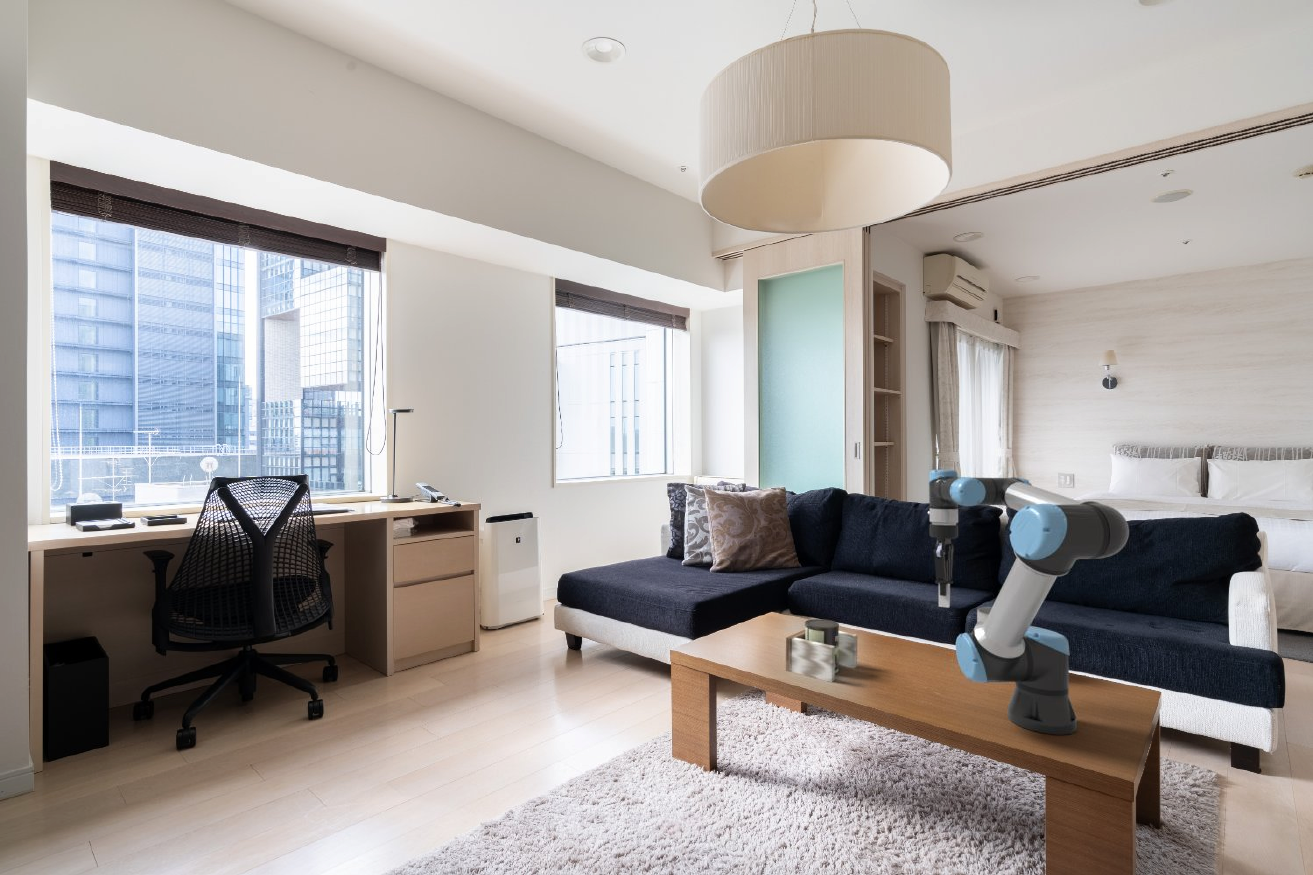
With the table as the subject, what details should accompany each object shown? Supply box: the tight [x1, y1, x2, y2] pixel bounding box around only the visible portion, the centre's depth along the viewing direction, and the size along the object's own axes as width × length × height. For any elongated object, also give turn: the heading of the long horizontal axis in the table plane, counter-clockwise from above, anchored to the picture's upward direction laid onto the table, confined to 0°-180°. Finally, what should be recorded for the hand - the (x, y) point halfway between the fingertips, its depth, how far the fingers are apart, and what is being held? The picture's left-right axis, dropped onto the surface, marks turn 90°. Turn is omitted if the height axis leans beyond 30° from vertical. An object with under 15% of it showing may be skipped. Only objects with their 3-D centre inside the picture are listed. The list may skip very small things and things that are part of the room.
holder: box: [785, 629, 858, 683], centre depth 207 cm, size 15×18×10 cm
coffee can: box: [804, 618, 840, 674], centre depth 207 cm, size 10×10×14 cm
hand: (944, 606), depth 191 cm, fingers closed
